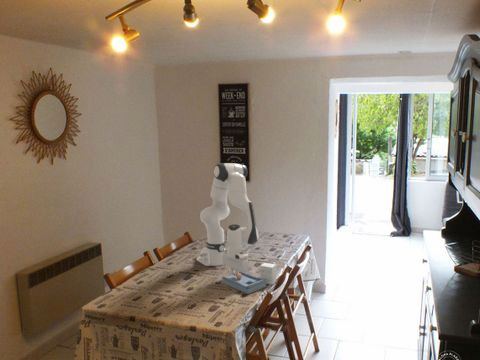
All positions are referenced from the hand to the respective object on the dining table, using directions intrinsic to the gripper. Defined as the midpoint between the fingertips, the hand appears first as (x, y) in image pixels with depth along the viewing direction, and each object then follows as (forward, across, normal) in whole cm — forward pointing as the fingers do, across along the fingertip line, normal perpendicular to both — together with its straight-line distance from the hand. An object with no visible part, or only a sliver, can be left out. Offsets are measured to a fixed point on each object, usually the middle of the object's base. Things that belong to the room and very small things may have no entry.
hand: (235, 275), depth 248 cm
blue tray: (+4, +7, 0) cm, 8 cm away
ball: (0, +3, 0) cm, 3 cm away
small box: (+4, +14, +13) cm, 20 cm away
